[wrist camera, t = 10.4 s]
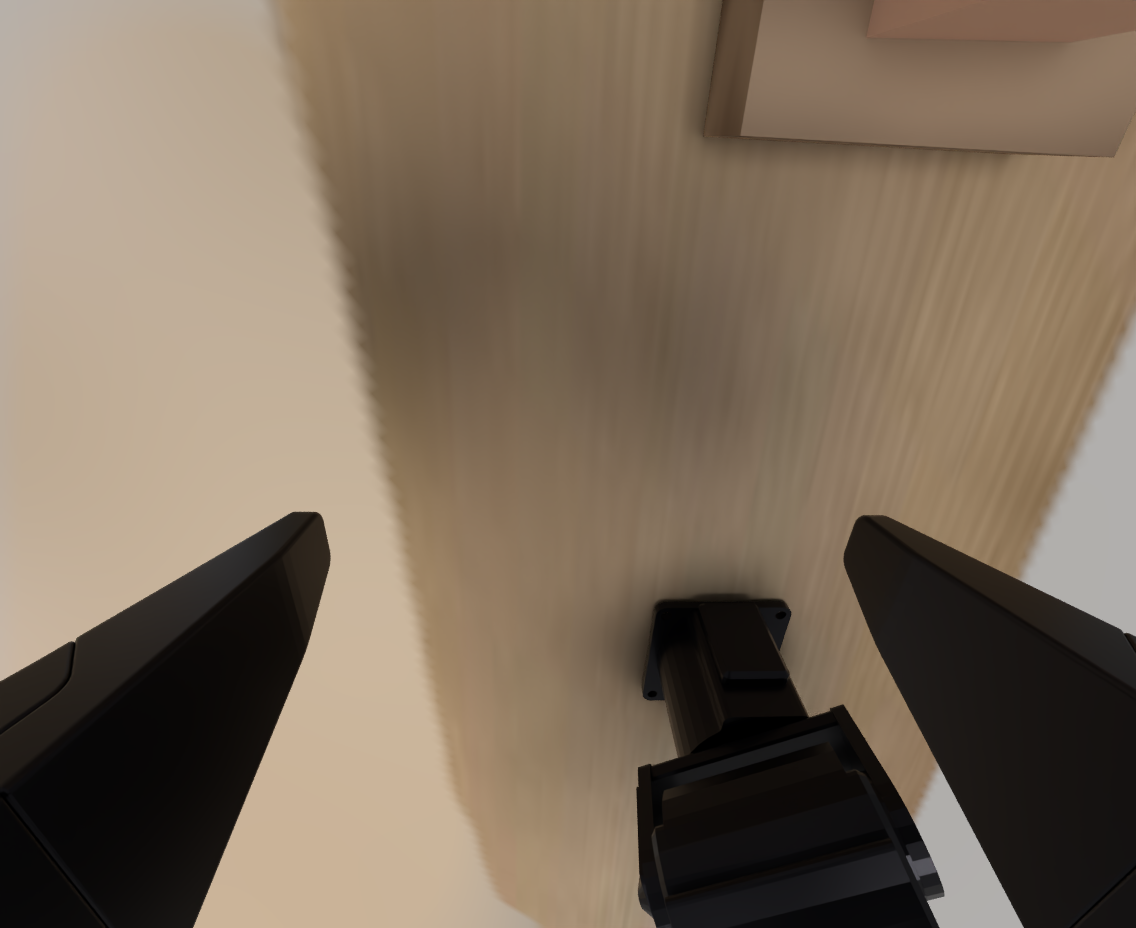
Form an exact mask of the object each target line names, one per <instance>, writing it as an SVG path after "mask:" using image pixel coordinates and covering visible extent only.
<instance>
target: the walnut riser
mask: <svg viewBox="0 0 1136 928" xmlns="http://www.w3.org/2000/svg"><path fill="white" fill-rule="evenodd" d="M873 4H874V0H723V3H722V10H721V17H720V24H719V31H718V38H717V45H716V52H715V59H714V65H713V72H712V79H711V86H710V93H709V100H708V107H707V114H706V121H705V127H704V134H703V136H705V137H722V138H740V139H757V140H774V141H792V142H809V143H826V144H844V145H861V146H878V147H896V148H913V149H930V150H948V151H965V152H982V153H1000V154H1021V155H1054V156H1088V157H1114V156H1115V154H1116V152H1117V150H1118V148H1119V146H1120V144H1121V141H1122V139H1123V137H1124V135H1125V133H1126V131H1127V129H1128V126H1129V124H1130V122H1131V120H1132V118H1133V116H1134V114H1135V111H1136V30H1135V31H1130V32H1124V33H1119V34H1113V35H1108V36H1103V37H1097V38H1092V39H1086V40H1081V41H1075V42H1028V41H984V40H940V39H896V38H866V35H867V31H868V26H869V22H870V17H871V13H872V8H873Z"/></svg>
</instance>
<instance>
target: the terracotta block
mask: <svg viewBox="0 0 1136 928" xmlns="http://www.w3.org/2000/svg"><path fill="white" fill-rule="evenodd" d="M1135 30H1136V0H874V4H873V8H872V13H871V17H870V22H869V26H868V31H867V35H866V38H896V39H940V40H984V41H1028V42H1075V41H1081V40H1086V39H1092V38H1097V37H1103V36H1108V35H1113V34H1119V33H1124V32H1130V31H1135Z"/></svg>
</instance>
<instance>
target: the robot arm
mask: <svg viewBox="0 0 1136 928" xmlns="http://www.w3.org/2000/svg"><path fill="white" fill-rule="evenodd" d="M329 566H330V549H329V544H328V540H327V535H326V531H325V526H324V521H323V518H322V516H321V515H320V514H319V513H317V512H292V513H290V514H288V515H287V516H285V517H283V518H282V519H280V520H278V521H276V522H275V523H273V524H271V525H270V526H268V527H266V528H264V529H263V530H261V531H259V532H258V533H256V534H254V535H253V536H251V537H249V538H247V539H246V540H244V541H242V542H240V543H239V544H237V545H235V546H233V547H232V548H230V549H228V550H227V551H225V552H223V553H222V554H220V555H218V556H216V557H215V558H213V559H211V560H209V561H208V562H206V563H204V564H203V565H201V566H199V567H197V568H196V569H194V570H193V571H191V572H189V573H187V574H185V575H184V576H182V577H180V578H179V579H177V580H175V581H173V582H172V583H170V584H168V585H167V586H165V587H163V588H161V589H160V590H158V591H156V592H155V593H153V594H151V595H149V596H148V597H146V598H144V599H143V600H141V601H139V602H137V603H136V604H134V605H132V606H130V607H129V608H127V609H125V610H124V611H122V612H120V613H118V614H117V615H115V616H114V617H111V618H110V619H108V620H106V621H105V622H103V623H101V624H99V625H98V626H96V627H94V628H93V629H91V630H89V631H87V632H86V633H84V634H82V635H81V636H79V637H77V639H76V641H75V642H72V641H71V642H68V643H67V644H65V645H63V646H62V647H60V648H58V649H57V650H55V651H53V652H51V653H50V654H48V655H46V656H44V657H43V658H41V659H40V660H38V661H36V662H34V663H32V664H30V665H29V666H27V667H25V668H23V669H22V670H20V671H18V672H16V673H15V674H13V675H11V676H9V677H7V678H6V679H4V680H2V681H0V928H193V927H194V924H195V922H196V919H197V917H198V914H199V912H200V910H201V907H202V905H203V902H204V899H205V897H206V895H207V892H208V890H209V888H210V885H211V883H212V880H213V878H214V875H215V873H216V870H217V868H218V865H219V863H220V860H221V858H222V855H223V853H224V851H225V848H226V846H227V843H228V841H229V839H230V836H231V834H232V831H233V829H234V826H235V824H236V821H237V819H238V816H239V814H240V812H241V809H242V807H243V804H244V802H245V799H246V797H247V794H248V792H249V789H250V787H251V785H252V782H253V780H254V777H255V775H256V772H257V770H258V768H259V765H260V763H261V760H262V758H263V755H264V753H265V750H266V748H267V746H268V743H269V741H270V738H271V736H272V733H273V731H274V728H275V726H276V724H277V721H278V719H279V716H280V714H281V711H282V709H283V706H284V704H285V701H286V699H287V697H288V694H289V692H290V689H291V687H292V684H293V682H294V679H295V677H296V674H297V672H298V670H299V667H300V665H301V662H302V660H303V657H304V654H305V652H306V649H307V646H308V642H309V639H310V636H311V632H312V629H313V625H314V621H315V618H316V614H317V610H318V607H319V603H320V600H321V596H322V592H323V589H324V585H325V581H326V578H327V574H328V571H329ZM844 566H845V569H846V572H847V574H848V577H849V579H850V582H851V584H852V587H853V589H854V592H855V594H856V597H857V599H858V602H859V605H860V607H861V610H862V612H863V615H864V617H865V620H866V622H867V625H868V627H869V630H870V632H871V634H872V637H873V639H874V641H875V644H876V646H877V648H878V650H879V652H880V654H881V656H882V658H883V660H884V662H885V664H886V666H887V667H888V669H889V671H890V673H891V675H892V677H893V679H894V681H895V683H896V685H897V687H898V688H899V690H900V692H901V694H902V696H903V698H904V700H905V702H906V704H907V706H908V708H909V709H910V711H911V713H912V715H913V717H914V719H915V721H916V723H917V725H918V727H919V729H920V730H921V732H922V734H923V736H924V738H925V740H926V742H927V744H928V746H929V748H930V750H931V751H932V753H933V755H934V757H935V759H936V761H937V763H938V765H939V767H940V769H941V771H942V772H943V774H944V776H945V778H946V780H947V782H948V784H949V786H950V788H951V789H952V792H953V793H954V795H955V797H956V799H957V801H958V803H959V805H960V807H961V809H962V811H963V812H964V814H965V816H966V818H967V820H968V822H969V824H970V826H971V827H972V829H973V832H974V833H975V835H976V837H977V839H978V841H979V843H980V845H981V847H982V849H983V851H984V853H985V854H986V856H987V858H988V860H989V862H990V864H991V866H992V868H993V870H994V871H995V874H996V875H997V877H998V879H999V881H1000V883H1001V885H1002V887H1003V889H1004V891H1005V893H1006V894H1007V896H1008V898H1009V900H1010V902H1011V904H1012V906H1013V908H1014V910H1015V912H1016V914H1017V915H1018V917H1019V919H1020V921H1021V923H1022V925H1023V927H1024V928H1136V636H1133V635H1131V634H1129V633H1123V632H1122V630H1121V629H1119V628H1117V627H1115V626H1113V625H1110V624H1108V623H1106V622H1104V621H1102V620H1100V619H1098V618H1096V617H1094V616H1092V615H1090V614H1088V613H1086V612H1084V611H1082V610H1079V609H1077V608H1075V607H1073V606H1071V605H1069V604H1067V603H1065V602H1063V601H1061V600H1059V599H1057V598H1055V597H1053V596H1051V595H1048V594H1046V593H1044V592H1042V591H1040V590H1038V589H1036V588H1034V587H1032V586H1030V585H1028V584H1026V583H1024V582H1022V581H1020V580H1018V579H1015V578H1013V577H1011V576H1009V575H1007V574H1005V573H1003V572H1001V571H999V570H997V569H995V568H993V567H991V566H989V565H987V564H984V563H982V562H980V561H978V560H976V559H974V558H972V557H970V556H968V555H966V554H964V553H962V552H960V551H958V550H956V549H954V548H951V547H949V546H947V545H945V544H943V543H941V542H939V541H937V540H935V539H933V538H931V537H929V536H927V535H925V534H923V533H920V532H918V531H916V530H914V529H912V528H910V527H908V526H906V525H904V524H902V523H900V522H898V521H896V520H894V519H892V518H889V517H887V516H883V515H863V516H861V517H859V518H858V519H857V520H856V522H855V524H854V527H853V529H852V532H851V535H850V538H849V540H848V543H847V546H846V549H845V552H844ZM664 612H668V613H665V614H663V613H664ZM778 612H780V613H778ZM790 617H791V611H790V609H789V607H788V605H787V604H786V603H785V602H780V601H776V602H662V603H660V604H658V605H657V606H656V607H655V609H654V613H653V620H652V626H651V632H650V638H649V645H648V651H647V657H646V663H645V670H644V676H643V682H642V693H643V697H644V698H645V699H647V700H665V703H666V707H667V712H668V716H669V720H670V725H671V729H672V733H673V738H674V742H675V746H676V751H677V755H678V758H676V759H672V760H669V761H666V762H663V763H659V764H656V765H653V766H652V765H651V764H648V765H645V766H641V767H638V785H639V787H637V789H636V790H637V819H638V848H639V874H640V878H639V885H638V897H639V901H640V905H641V907H642V909H643V910H644V911H645V912H647V913H648V914H649V915H650V916H651V917H652V918H653V919H654V922H655V924H656V928H939V926H938V924H937V922H936V919H935V917H934V915H933V913H932V911H931V909H930V907H929V904H928V903H927V900H932V899H936V898H939V897H944V890H943V886H942V884H941V881H940V878H939V876H938V873H937V870H936V868H935V866H934V864H933V861H932V859H931V857H930V854H929V852H928V850H927V848H926V846H925V844H924V841H923V840H922V838H921V836H920V833H919V831H918V829H917V827H916V825H915V823H914V821H913V819H912V817H911V816H910V814H909V812H908V810H907V808H906V806H905V804H904V802H903V801H902V799H901V797H900V795H899V793H898V792H897V790H896V788H895V787H894V785H893V783H892V782H891V780H890V778H889V777H888V775H887V774H886V772H885V770H884V769H883V767H882V766H881V764H880V762H879V761H878V759H877V758H876V756H875V754H874V753H873V751H872V750H871V748H870V746H869V745H868V743H867V742H866V740H865V738H864V737H863V735H862V734H861V732H860V730H859V729H858V727H857V725H856V724H855V722H854V721H853V719H852V717H851V716H850V714H849V713H848V711H847V709H846V708H845V706H844V705H839V706H836V707H833V708H830V711H828V712H825V713H822V714H819V715H815V716H812V717H809V716H808V714H807V712H806V710H805V707H804V705H803V703H802V701H801V699H800V697H799V695H798V693H797V691H796V688H795V686H794V684H793V682H792V680H791V678H790V674H789V671H788V669H787V667H786V665H785V662H784V660H783V658H782V656H781V654H780V652H779V651H780V648H781V645H782V642H783V639H784V635H785V632H786V629H787V626H788V623H789V620H790Z"/></svg>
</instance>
